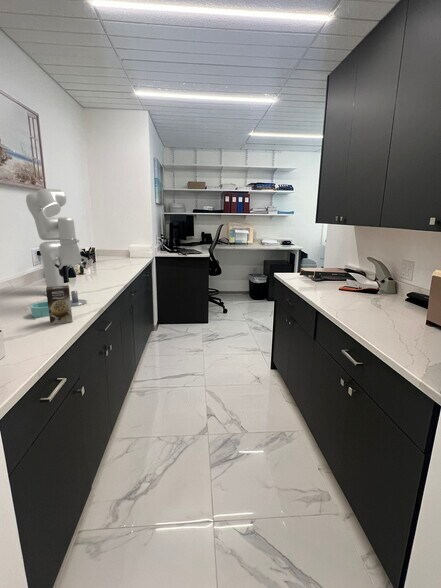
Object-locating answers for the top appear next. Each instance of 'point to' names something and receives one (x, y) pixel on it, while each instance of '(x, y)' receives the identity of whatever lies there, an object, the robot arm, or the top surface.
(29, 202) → the robot arm
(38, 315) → the bowl
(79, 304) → the lid
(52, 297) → the coffee box
